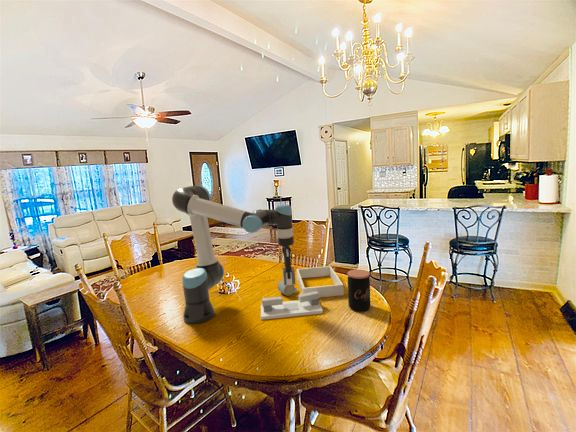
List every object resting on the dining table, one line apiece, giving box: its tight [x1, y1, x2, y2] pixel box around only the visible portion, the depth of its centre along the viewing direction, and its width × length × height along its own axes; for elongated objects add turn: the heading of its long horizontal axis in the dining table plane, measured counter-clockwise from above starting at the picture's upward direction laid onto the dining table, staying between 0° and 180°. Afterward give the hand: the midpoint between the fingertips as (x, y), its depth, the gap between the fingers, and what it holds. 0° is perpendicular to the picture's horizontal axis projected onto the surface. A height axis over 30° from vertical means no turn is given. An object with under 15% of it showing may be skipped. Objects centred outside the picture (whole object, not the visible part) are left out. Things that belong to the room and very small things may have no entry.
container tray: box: [296, 265, 345, 299], centre depth 187 cm, size 22×32×6 cm
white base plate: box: [260, 291, 324, 321], centre depth 159 cm, size 30×14×7 cm, turn 95°
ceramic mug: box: [277, 279, 299, 297], centre depth 179 cm, size 11×8×8 cm
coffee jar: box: [346, 268, 371, 313], centre depth 155 cm, size 11×11×18 cm
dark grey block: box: [282, 266, 296, 285], centre depth 156 cm, size 6×6×8 cm
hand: (288, 282), depth 156 cm, fingers closed on dark grey block, 5 cm apart
